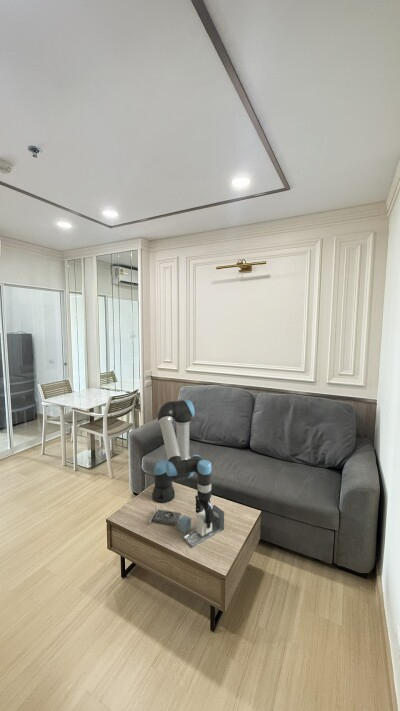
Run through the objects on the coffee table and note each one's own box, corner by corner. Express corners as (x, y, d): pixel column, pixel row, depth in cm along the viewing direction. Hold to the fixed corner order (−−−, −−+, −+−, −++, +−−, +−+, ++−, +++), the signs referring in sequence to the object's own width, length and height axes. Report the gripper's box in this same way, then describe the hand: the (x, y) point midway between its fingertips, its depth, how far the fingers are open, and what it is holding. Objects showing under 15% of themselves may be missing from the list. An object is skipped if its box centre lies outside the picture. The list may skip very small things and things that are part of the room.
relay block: (178, 529, 162) (178, 519, 161) (184, 524, 166) (184, 514, 165) (185, 533, 159) (185, 522, 158) (191, 528, 163) (191, 518, 162)
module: (196, 531, 158) (196, 514, 157) (206, 525, 162) (206, 509, 161) (202, 536, 154) (202, 518, 153) (212, 530, 158) (212, 513, 157)
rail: (183, 538, 155) (183, 520, 153) (214, 521, 168) (214, 504, 167) (192, 547, 148) (192, 528, 147) (223, 529, 162) (224, 512, 161)
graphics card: (147, 520, 165) (155, 507, 176) (147, 526, 165) (155, 512, 177) (175, 525, 161) (181, 511, 173) (175, 531, 162) (181, 516, 173)
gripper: (188, 484, 160) (189, 523, 163) (209, 500, 146) (209, 542, 148) (199, 480, 165) (199, 518, 167) (220, 495, 151) (220, 536, 153)
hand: (204, 529), depth 158 cm, fingers closed on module, 5 cm apart
